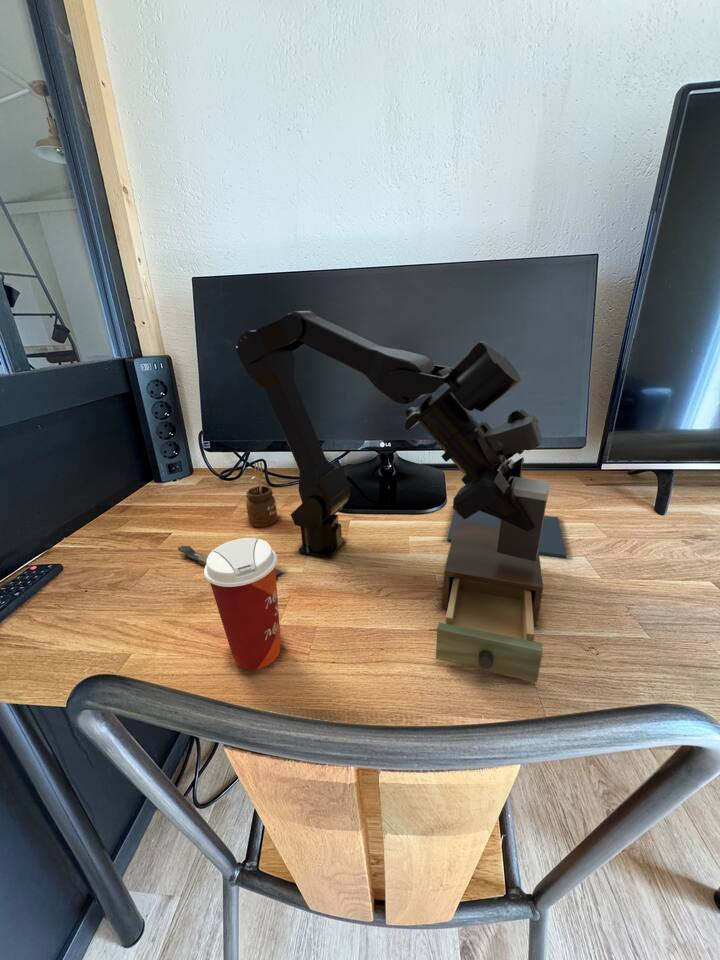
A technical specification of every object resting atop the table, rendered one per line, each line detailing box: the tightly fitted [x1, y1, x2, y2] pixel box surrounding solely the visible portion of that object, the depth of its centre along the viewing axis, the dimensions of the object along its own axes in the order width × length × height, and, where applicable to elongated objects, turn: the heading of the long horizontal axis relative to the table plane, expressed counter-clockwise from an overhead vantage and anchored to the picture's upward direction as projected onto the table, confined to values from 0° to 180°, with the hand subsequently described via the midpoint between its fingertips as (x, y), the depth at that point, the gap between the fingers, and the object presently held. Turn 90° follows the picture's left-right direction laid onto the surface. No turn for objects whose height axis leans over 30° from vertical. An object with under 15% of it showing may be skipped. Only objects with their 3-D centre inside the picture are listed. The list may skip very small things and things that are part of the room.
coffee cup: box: [203, 537, 282, 671], centre depth 49 cm, size 8×8×15 cm
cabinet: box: [441, 521, 544, 627], centre depth 61 cm, size 15×13×7 cm
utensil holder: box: [245, 461, 278, 528], centre depth 82 cm, size 6×6×12 cm
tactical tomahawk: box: [177, 545, 283, 577], centre depth 70 cm, size 21×7×1 cm, turn 57°
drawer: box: [435, 577, 544, 683], centre depth 51 cm, size 15×11×5 cm
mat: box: [446, 510, 567, 559], centre depth 77 cm, size 20×14×1 cm
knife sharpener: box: [497, 476, 551, 561], centre depth 54 cm, size 5×4×10 cm
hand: (533, 521), depth 53 cm, fingers closed on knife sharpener, 4 cm apart
